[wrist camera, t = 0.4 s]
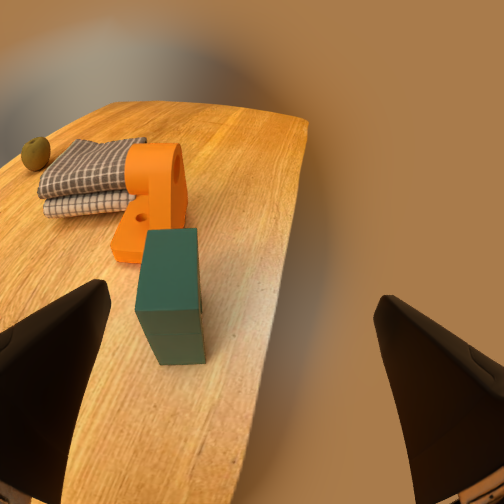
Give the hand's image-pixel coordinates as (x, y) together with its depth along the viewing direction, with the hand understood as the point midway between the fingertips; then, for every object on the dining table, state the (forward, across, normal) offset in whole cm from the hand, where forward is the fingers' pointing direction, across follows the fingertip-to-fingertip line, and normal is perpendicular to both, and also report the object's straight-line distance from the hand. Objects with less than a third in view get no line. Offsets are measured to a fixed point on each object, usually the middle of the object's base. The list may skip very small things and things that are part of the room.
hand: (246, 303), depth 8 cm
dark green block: (+12, +5, +13) cm, 18 cm away
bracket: (+23, +10, +9) cm, 27 cm away
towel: (+33, +22, +6) cm, 40 cm away
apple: (+44, +47, +4) cm, 65 cm away
